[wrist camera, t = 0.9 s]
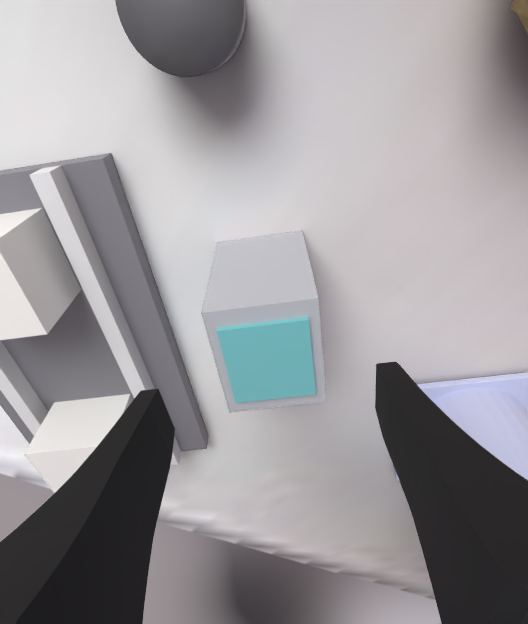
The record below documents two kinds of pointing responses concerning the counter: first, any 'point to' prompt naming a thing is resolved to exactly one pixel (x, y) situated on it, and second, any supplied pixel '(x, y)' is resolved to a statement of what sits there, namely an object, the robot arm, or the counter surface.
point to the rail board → (81, 316)
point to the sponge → (521, 11)
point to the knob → (184, 32)
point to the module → (265, 322)
